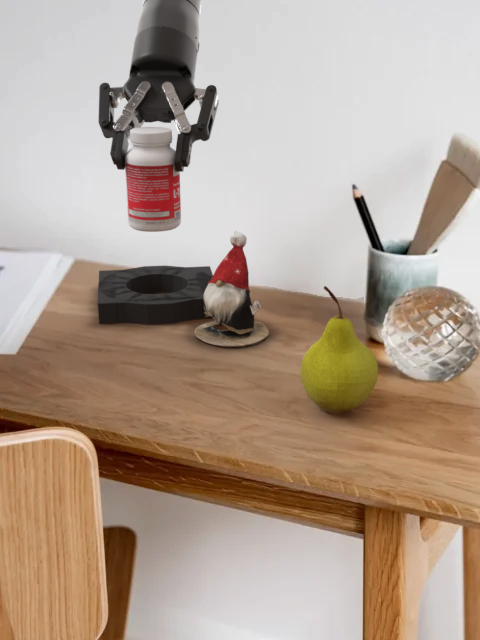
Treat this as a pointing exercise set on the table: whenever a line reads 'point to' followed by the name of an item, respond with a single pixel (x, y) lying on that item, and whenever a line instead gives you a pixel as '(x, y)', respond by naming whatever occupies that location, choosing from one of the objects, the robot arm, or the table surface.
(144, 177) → the pill bottle
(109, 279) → the ashtray
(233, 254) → the figurine
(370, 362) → the fruit
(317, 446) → the table surface
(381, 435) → the table surface
